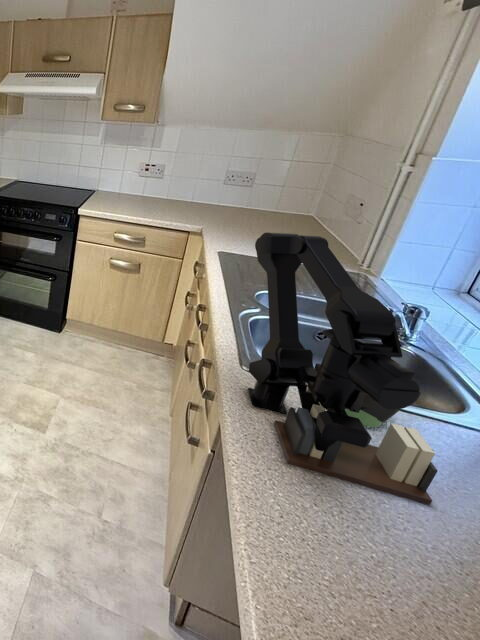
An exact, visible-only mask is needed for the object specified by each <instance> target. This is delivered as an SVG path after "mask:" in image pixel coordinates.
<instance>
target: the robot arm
mask: <svg viewBox="0 0 480 640" xmlns="http://www.w3.org/2000/svg"><path fill="white" fill-rule="evenodd" d="M254 246H255V247H254V249H255V252H256V256H257V257H256V258H257V262H258V264H259V265H260V266H261V268H262V269H263V270H264V271H265V273H266V280H267V281H266V282H267V299H268V301H267V302H268V323H269V324H268V325H269V340H268V341H267V342H266V344H265V345H264V347H263V348H262V350H261V355H260V359H257V360H254V361H251V362H249V365H248V373H249V374H250V375H251V376H252V377H253V378H254V379H255V380H256V381H255V384H254V387H253V388H251V387H248V388H247V393H248V397H249V400H250V403H251V406H252V407H254V408H258V409H262V410H266V411H269V412H273V413H277V414H281V415H284V416H287V414H288V410H287V407H286V405H285V400H286V398H287V395H288V392H289V390H290V387H296V388H297V392H298V397H299V402H300V405H301V408H304V409H308V411H309V413H310V411H311V408H312V406H313V404H315V405H319V406H321V407H322V408H324V409H325V411H324V412H320V413H318V416H317V418H314V417H312V423H313V432H314V442H315V448H316V450H319V451H324V450H326V449H327V448H328V447H330V446H331V445H332V444H334V443H335V442H336V441H341V442H345V443H349V444H352V445H356V446H360V447H364V448H366V447H368V445H370V443H371V441H372V439H373V438H372V436H371V434H370V433H369V431H368V429H367V427H366V426H364V424H363V423H362V422H361V421H360V420H359V418H355V417H351V416H348V415H347V413H346V411H345V409H349V410H350V411H352V412H356V413H359V411H360V409H361V410H362V411H364V412H366V413H368V414H370V415H371V416H373V417H375V418H377V419H378V420H379V421H381V422H382V423H386V422H387V421H388V420H390V419H392V417H394V416H395V415H396V414H397V413H398V412H400V410H402V409H406V408H408V407H410V406H411V405H414V403H415V402H417V401H418V399H419V398H420V396H421V392H420V391H421V389H420V386H419V385H420V384H419V383H418V382H416V381H415V380H414V379H413V378H414V376H415V372H414V371H413V370H412V369H410V368H408V367H406V366H404V365H402V364H400V363H399V362H397V361H396V360H394V359H393V358H396V359H397V358H398V359H402V358H403V352H402V346H403V345H402V343H401V341H400V339H399V338H400V337H399V335H398V329H397V321H396V318H395V316H394V314H393V313H392V312H391V311H390V310H389V309H388V308H387V307H386V306H385V305H384V304H383V303H382V302H381V301H380V300H379V299H378V298H376V297H374V296H372V295H370V294H368V293H367V292H365V291H363V290H362V289H361V288H360V287H359V286H358V285H357V284H356V283H355V281H354V280H353V278H352V277H351V275H350V274H349V273H348V271H347V270H346V268H345V267H344V266H343V265H342V263H341V262H340V261H339V259H338V258H337V257H336V256H335V254H334V253H333V251H332V249H330V247H329V241H328V240H327V239H326V238H325V237H322V236H320V235H303V234H302V235H301V234H300V235H299V234H298V233H291V232H289V233H287V232H284V233H283V232H264V233H262V234H261V235H260V236H259V237H258V238H257V239H256V240H255V244H254ZM301 265H303V267H304V268H305V270H306V271H307V273H308V275H309V276H310V278H311V279H312V280H313V282H314V283H315V285H316V287H317V288H318V290H319V291H320V292H321V295H322V296H323V298H324V299H325V301H326V306H325V310H324V314H325V316H326V318H327V321H328V323H329V325H330V327H331V328H328V329H324V330H322V332H321V333H322V334H323V335H324V336H325V337H327V338H328V339H329V343H328V346H327V349H326V350H325V354H324V356H323V358H322V361H321V363H319V362H318V363H317V362H316V363H315V365H314V362H313V361H314V360H313V359H314V353H313V351H312V349H307V348H305V346H304V344H303V343H302V342H301V341H300V331H299V316H298V315H299V314H298V296H297V295H298V294H297V280H296V279H297V277H296V275H297V274H296V273H297V271H298V270H299V268H300V267H301ZM362 340H364V341H365V340H368V341H380V342H381V343H373V342H372V343H371V342H364V341H362Z"/></svg>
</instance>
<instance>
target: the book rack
mask: <svg viewBox="0 0 480 640" xmlns="http://www.w3.org/2000/svg"><path fill="white" fill-rule="evenodd" d="M296 412H297V411H296V410H295V407H293V406H290V407H289V409H288V411H287V415H286V417H285V420H284V421H281V420H278V419H275V420H274V423H273V426H274V429H275V432H276V434H277V437H278V440H279V444H280V447H281V450H282V452H283V455H284V459H285V460H286V464H288V465H291V466H294V467H298V468H301V469H305V470H308V471H311V472H314V473H318V474H321V475H325V476H329V477H331V478H335V479H339V480H342V481H344V482H345V481H346V482H349V483H352V484H356V485H359V486H363V487H365V488H369V489H371V490H375V491H379V492H383V493H386V494H390V495H392V496H395V497H396V496H397V497H400V498H403V499H406V500H410V501H413V502H417V503H420V504H423V505H427V506H431V504H432V502H433V499H432V498H431V496H430V495H429V493H428V492H427V491H428V489H429V487H430V486H431V484H432V482H433V480H434V478H435V477H436V475H437V473H438V471H439V470H438V469H437V468H436V466H435V465H434V464H433V462H432V461H431V462H430V464H429V466H428V467H427V469H426V471H425V473H424V474H423V476H422V478H421V480H420V482H419V483H418V485H417V486H414V485H411V484H407V483H405V482H404V480H403V481H402V482H400V481H397V480H393V479H390V477H389V476H388V474H387V472H386V471H385V469H384V467H383V466H382V464H381V462H380V461H379V459H378V458H377V456H376V452H377V450H378V448H379V446H375V445H372V444H369V445H368V447H366V448H364V447H360V446H356V445H352V444H349V443H345V442H343V443H342V445H341V448H340V450H339V452H338V454H337V457H336V459H335V461H334V463H333V462H330V461H326V460H323V458H322V456H321V459H319V458H316V457H312V456H310V454H309V452H308V454H307V455H305V454H302V453H298V452H299V450H300V447H301V445H302V442H303V440H304V437H305V433H304V430H303V428H302V426H301V423H300V421H299V419H298V416H297V414H296Z"/></svg>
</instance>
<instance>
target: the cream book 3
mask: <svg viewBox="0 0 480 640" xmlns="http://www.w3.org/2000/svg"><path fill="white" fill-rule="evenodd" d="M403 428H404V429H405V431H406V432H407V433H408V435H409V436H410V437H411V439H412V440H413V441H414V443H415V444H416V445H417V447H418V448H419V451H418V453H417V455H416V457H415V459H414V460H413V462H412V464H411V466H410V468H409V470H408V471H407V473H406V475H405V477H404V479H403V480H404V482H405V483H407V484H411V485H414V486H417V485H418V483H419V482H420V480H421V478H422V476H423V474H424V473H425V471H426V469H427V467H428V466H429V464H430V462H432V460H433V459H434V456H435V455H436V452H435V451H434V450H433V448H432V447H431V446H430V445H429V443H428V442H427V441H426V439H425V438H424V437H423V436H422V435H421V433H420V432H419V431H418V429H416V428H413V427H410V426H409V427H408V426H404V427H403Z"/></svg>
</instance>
